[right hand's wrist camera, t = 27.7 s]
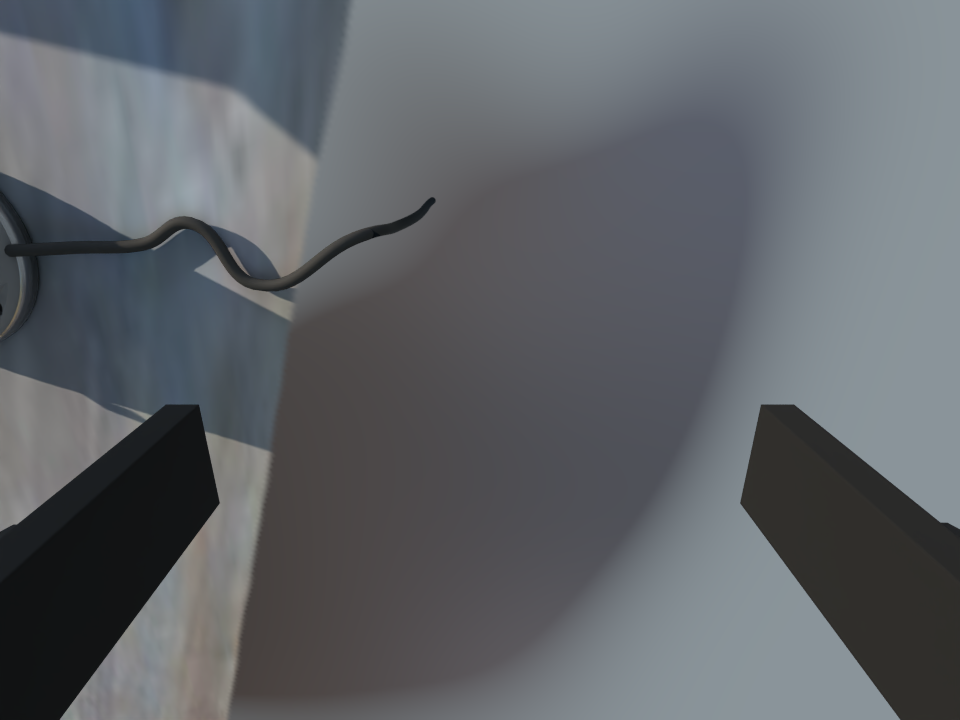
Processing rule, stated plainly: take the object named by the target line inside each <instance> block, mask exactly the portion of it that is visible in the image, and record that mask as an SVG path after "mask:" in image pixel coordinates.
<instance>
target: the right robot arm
mask: <svg viewBox="0 0 960 720" xmlns="http://www.w3.org/2000/svg"><path fill="white" fill-rule="evenodd" d="M435 202H436V199H435V198H434V197H431V198H429V199H428V200H427V201H426V202H425V203H424V204H423V205H422V206H421V208H420V209H418V210H417V211H416V212H414V213H412V214H410V215H408V216H406V217H404V218H402V219H399V220H397V221H394V222H392V223H388V224H382V225H375V226H371V227H367V228H364V229H361V230H358V231H355V232H352V233H350V234H348V235H346V236H344V237H342V238H340V239H338V240H337V241H335V242H333V243H332V244H330V245H329V246H327V247H326V248H325V249H323V250H322V251H321V252H319V253H318V254H317V255H316V256H314V257H313V258H312V259H311V260H310V261H308V262H307V263H306V264H304V265H303V266H302V267H300V268H299V269H298V270H296V271H295V272H293V273H291V274H289V275H287V276H285V277H282V278H279V279H274V280H262V279H256V278H253V277H250V276H249V275H247V274H246V273H245V272H243V271H242V270H241V268H240V267H239V266H238V265H237V263H236V262H235V260H234V259H233V257H232V255H231V254H230V252H229V250H228V249H227V247H226V245H225V244H224V242H223V241H222V239H221V238H220V237H219V235H218V234H217V233H216V232H215V231H214V230H213V229H212V228H211V227H210V226H209V225H207V224H206V223H204V222H203V221H200V220H197V219H195V218H192V217H186V216H184V217H176V218H173V219H171V220H169V221H167V222H166V223H165V224H163V225H162V226H161V227H160V228H159V229H157V230H156V231H155V232H153V233H152V234H150V235H149V236H146V237H143V238H139V239H134V240H126V241H72V242H52V243H31V240H30V237H29V235H28V233H27V231H26V228H25V226H24V225H23V223H22V221H21V219H20V217H19V216H18V214H17V213H16V211H15V210H14V208H13V207H12V205H11V204H10V203H9V202H8V200H7V199H6V198H5V196H4V195H3V194H2V193H1V192H0V341H2V340H4V339H6V338H8V337H9V336H11V335H12V334H13V333H15V332H16V331H17V330H18V329H19V328H20V327H21V326H22V325H23V324H24V323H25V321H26V320H27V318H28V317H29V315H30V313H31V311H32V309H33V307H34V304H35V301H36V297H37V292H38V279H39V278H38V266H37V260H36V256H43V255H63V254H84V253H130V252H138V251H144V250H148V249H151V248H154V247H156V246H158V245H159V244H161V243H162V242H164V241H165V240H166V239H168V238H169V237H170V236H171V235H172V234H174V233H175V232H177V231H179V230H181V229H191V230H194V231H196V232H198V233H199V234H201V235H202V236H203V237H204V238H205V239H206V240H207V241H208V242H209V244H210V245H211V246H212V248H213V249H214V251H215V253H216V254H217V256H218V257H219V259H220V261H221V262H222V264H223V266H224V267H225V268H226V270H227V271H228V273H229V274H230V275H231V276H232V277H233V278H234V279H235V280H236V281H237V282H238V283H240V284H242V285H243V286H245V287H247V288H250V289H253V290H260V291H279V290H284V289H287V288H290V287H293V286H295V285H297V284H298V283H300V282H302V281H304V280H305V279H306V278H308V277H309V276H311V275H312V274H313V273H315V272H316V271H317V270H318V269H320V268H321V267H322V266H323V265H325V264H326V263H327V262H328V261H330V260H331V259H332V258H334V257H335V256H337V255H338V254H339V253H341V252H343V251H344V250H346V249H348V248H350V247H352V246H354V245H356V244H358V243H361V242H363V241H366V240H369V239H372V238H375V237H379V236H384V235H389V234H393V233H396V232H398V231H401V230H403V229H405V228H407V227H409V226H411V225H413V224H414V223H416V222H418V221H419V220H420V219H421V218H423V217H424V215H425V214H426V213H427V212H428V210H429V209H430V207H431V206H432V205H433V204H434V203H435ZM740 503H741V505H742V506H743V508H744V509H745V510H746V512H747V513H748V514H749V516H750V517H751V518H752V520H753V521H754V522H755V524H756V525H757V526H758V528H759V529H760V531H761V532H762V533H763V535H764V536H765V537H766V539H767V540H768V541H769V543H770V544H771V545H772V547H773V548H774V549H775V551H776V552H777V553H778V555H779V556H780V558H781V559H782V560H783V562H784V563H785V564H786V566H787V567H788V568H789V570H790V571H791V572H792V574H793V575H794V576H795V578H796V579H797V581H798V582H799V583H800V585H801V586H802V587H803V589H804V590H805V591H806V593H807V594H808V595H809V597H810V598H811V599H812V601H813V602H814V603H815V605H816V606H817V608H818V609H819V610H820V612H821V613H822V614H823V616H824V617H825V618H826V620H827V621H828V622H829V624H830V625H831V626H832V628H833V629H834V630H835V632H836V633H837V635H838V636H839V637H840V639H841V640H842V641H843V643H844V644H845V645H846V647H847V648H848V649H849V651H850V652H851V653H852V655H853V656H854V658H855V659H856V660H857V662H858V663H859V664H860V666H861V667H862V668H863V670H864V671H865V672H866V674H867V675H868V676H869V678H870V679H871V680H872V682H873V683H874V685H875V686H876V687H877V689H878V690H879V691H880V693H881V694H882V695H883V697H884V698H885V699H886V701H887V702H888V703H889V705H890V706H891V707H892V709H893V710H894V711H895V713H896V714H897V716H898V717H899V718H900V720H960V529H958V528H956V527H954V526H952V525H950V524H949V523H940V522H939V521H938V520H936V519H935V518H934V517H933V516H931V515H930V514H929V513H928V512H927V511H925V510H924V509H923V508H922V507H920V506H919V505H918V504H917V503H915V502H914V501H913V500H912V499H910V498H909V497H908V496H907V495H905V494H904V493H903V492H902V491H900V490H899V489H898V488H897V487H896V486H894V485H893V484H892V483H891V482H889V481H888V480H887V479H886V478H884V477H883V476H882V475H881V474H879V473H878V472H877V471H876V470H874V469H873V468H872V467H871V466H869V465H868V464H867V463H866V462H864V461H863V460H862V459H861V458H860V457H858V456H857V455H856V454H855V453H853V452H852V451H851V450H850V449H848V448H847V447H846V446H845V445H843V444H842V443H841V442H840V441H838V440H837V439H836V438H835V437H833V436H832V435H831V434H830V433H829V432H827V431H826V430H825V429H824V428H822V427H821V426H820V425H819V424H817V423H816V422H815V421H814V420H812V419H811V418H810V417H809V416H807V415H806V414H805V413H804V412H802V411H801V410H800V409H799V408H797V407H796V406H795V405H761V408H760V413H759V417H758V422H757V427H756V431H755V436H754V441H753V446H752V450H751V455H750V460H749V464H748V469H747V474H746V479H745V483H744V488H743V493H742V498H741V502H740ZM219 504H220V502H219V497H218V493H217V488H216V483H215V479H214V474H213V469H212V464H211V460H210V455H209V450H208V446H207V441H206V436H205V431H204V427H203V422H202V417H201V413H200V408H199V405H165V406H164V407H163V408H161V409H160V410H159V411H158V412H156V413H155V414H154V415H153V416H151V417H150V418H149V419H148V420H146V421H145V422H144V423H143V424H141V425H140V426H139V427H138V428H136V429H135V430H134V431H133V432H131V433H130V434H129V435H128V436H127V437H125V438H124V439H123V440H122V441H120V442H119V443H118V444H117V445H115V446H114V447H113V448H112V449H110V450H109V451H108V452H107V453H105V454H104V455H103V456H102V457H100V458H99V459H98V460H97V461H96V462H94V463H93V464H92V465H91V466H89V467H88V468H87V469H86V470H84V471H83V472H82V473H81V474H79V475H78V476H77V477H76V478H74V479H73V480H72V481H71V482H69V483H68V484H67V485H66V486H64V487H63V488H62V489H61V490H60V491H58V492H57V493H56V494H55V495H53V496H52V497H51V498H50V499H48V500H47V501H46V502H45V503H43V504H42V505H41V506H40V507H38V508H37V509H36V510H35V511H33V512H32V513H31V514H30V515H29V516H27V517H26V518H25V519H24V520H22V521H21V522H20V523H19V524H17V525H12V526H10V527H8V528H6V529H4V530H3V531H1V532H0V720H60V718H61V717H62V716H63V714H64V713H65V712H66V710H67V709H68V708H69V706H70V705H71V703H72V702H73V701H74V699H75V698H76V697H77V695H78V694H79V693H80V691H81V690H82V689H83V687H84V686H85V685H86V683H87V682H88V681H89V679H90V678H91V676H92V675H93V674H94V672H95V671H96V670H97V668H98V667H99V666H100V664H101V663H102V662H103V660H104V659H105V658H106V656H107V655H108V653H109V652H110V651H111V649H112V648H113V647H114V645H115V644H116V643H117V641H118V640H119V639H120V637H121V636H122V635H123V633H124V632H125V631H126V629H127V628H128V626H129V625H130V624H131V622H132V621H133V620H134V618H135V617H136V616H137V614H138V613H139V612H140V610H141V609H142V608H143V606H144V605H145V604H146V602H147V601H148V599H149V598H150V597H151V595H152V594H153V593H154V591H155V590H156V589H157V587H158V586H159V585H160V583H161V582H162V581H163V579H164V578H165V576H166V575H167V574H168V572H169V571H170V570H171V568H172V567H173V566H174V564H175V563H176V562H177V560H178V559H179V558H180V556H181V555H182V554H183V552H184V551H185V549H186V548H187V547H188V545H189V544H190V543H191V541H192V540H193V539H194V537H195V536H196V535H197V533H198V532H199V531H200V529H201V528H202V526H203V525H204V524H205V522H206V521H207V520H208V518H209V517H210V516H211V514H212V513H213V512H214V510H215V509H216V508H217V506H218V505H219Z"/></svg>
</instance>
